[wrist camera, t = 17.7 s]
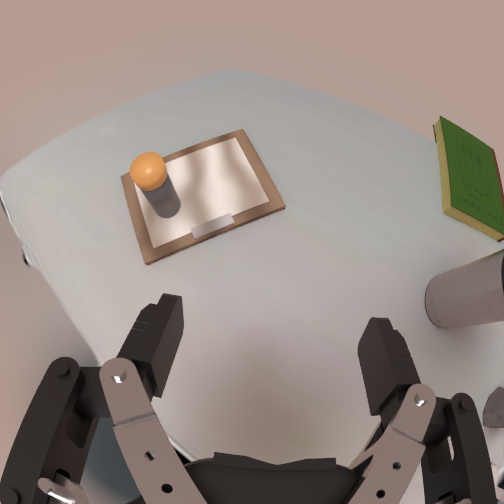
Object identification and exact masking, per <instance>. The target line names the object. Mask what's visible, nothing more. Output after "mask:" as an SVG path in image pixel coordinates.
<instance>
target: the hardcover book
mask: <svg viewBox="0 0 504 504" xmlns="http://www.w3.org/2000/svg"><path fill="white" fill-rule="evenodd" d="M433 130H434V136H435V143H437V146H438V154H439V163H440V173H441V186H442V206H443V213H445V214H447V215H450V216H452V217H454V218H456V219H458V220H460V221H462V222H464V223H466V224H468V225H470V226H472V227H474V228H476V229H478V230H479V231H481V232H483V233H485V234H487V235H489V236H491V237H492V238H494V239H496V240H498V242H500V241H502V240H504V194H503V189H502V184H501V179H500V173H499V169H498V165H497V161H496V156H495V152H494V150H493V149H492V148H491V147H489V146H488V145H486V144H485V143H483V142H482V141H480V140H479V139H477V138H476V137H474V136H473V135H471V134H470V133H468V132H467V131H465V130H464V129H462V128H460V127H459V126H457V125H455V124H454V123H452V122H450V121H449V120H447V119H445V118H443V117H442V116H440V119H439V120H438V121H437V123H436V124H435V125H433Z"/></svg>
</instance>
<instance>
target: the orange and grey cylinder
mask: <svg viewBox="0 0 504 504" xmlns="http://www.w3.org/2000/svg"><path fill="white" fill-rule="evenodd" d="M130 176H131V178H132V179H133V181H134V182H135V184H136V185H137V187H138V188H140V190H141V191H142V193H143V194H144V196H145V197H146V199H147V200H148V202H149V203H150V205H151V206H152V207H153V209H154V210H155V212H156V213H157V215H158V216H160V217H162V218H170V217H173V216H174V215H176V214H177V213H178V211H179V209H180V206H181V203H180V199H179V197H178V195H177V193H176V190H175V188H174V186H173V184H172V181H171V179H170V177H169V175H168V172H167V168H166V165H165V163H164V161H163V158H162V157H161V156H160V155H159V154H157V153H154V152H147V153H144V154H142V155H140V156H138V157H137V158H136V159H135V160H134V161H133V162H132V164H131V166H130Z"/></svg>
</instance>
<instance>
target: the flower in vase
mask: <svg viewBox="0 0 504 504" xmlns="http://www.w3.org/2000/svg"><path fill="white" fill-rule="evenodd" d="M491 467H492V473H493V478H494V484H495V491H496V498H497V499H499V500H500V501H502V502H503V503H504V490H503V489H501V488H499V487H498V486H497V481H498V473H499V472H498V467H497V466H496V464H491Z"/></svg>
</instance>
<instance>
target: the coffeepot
mask: <svg viewBox="0 0 504 504" xmlns="http://www.w3.org/2000/svg"><path fill="white" fill-rule="evenodd" d="M483 423H484V426H487V427H490V428H504V388H502V387H499V388H497V389H496V390H495V391H494V392H493V393H492V394H491V396H490V397H489V399H488V401H487V403H486V405H485V408H484V412H483Z"/></svg>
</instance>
